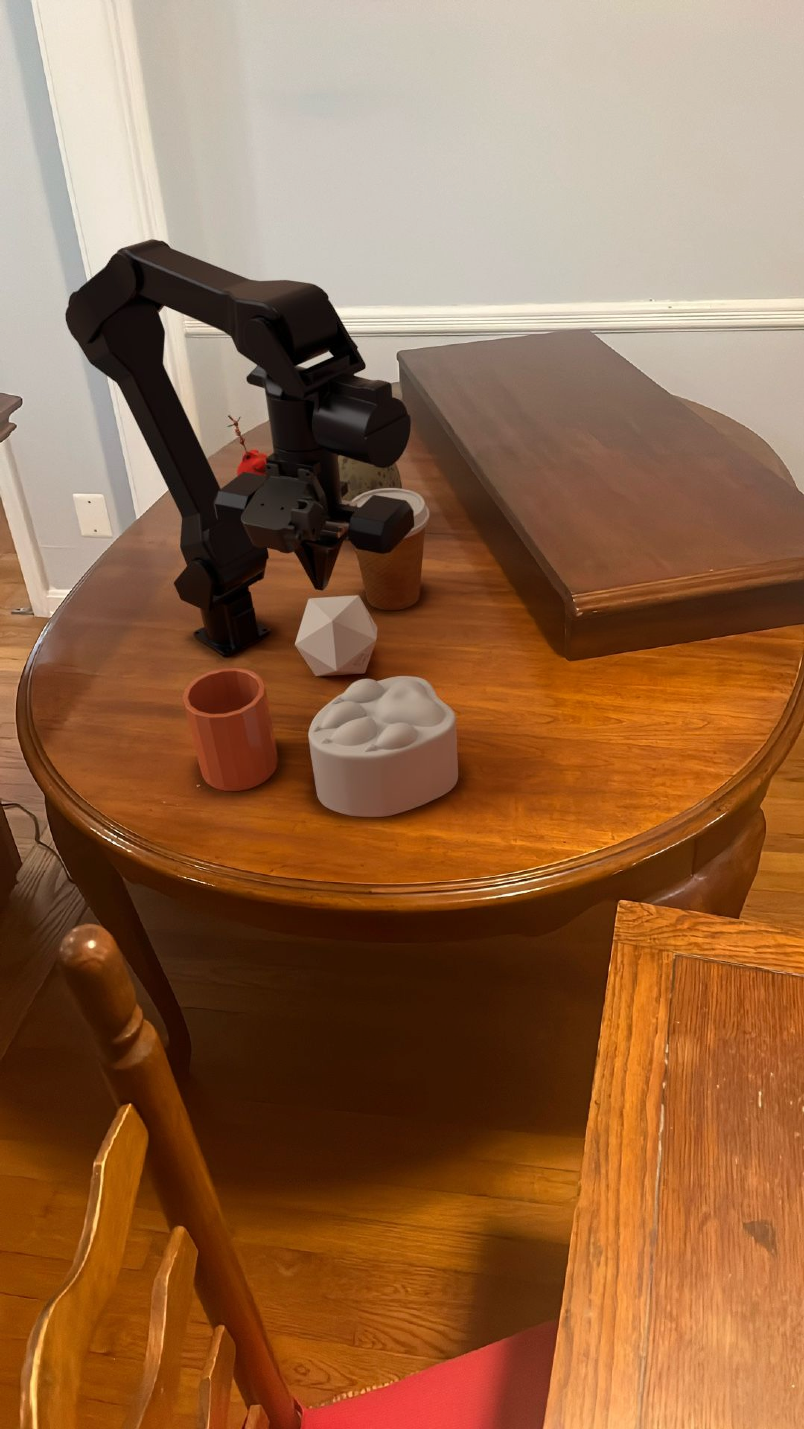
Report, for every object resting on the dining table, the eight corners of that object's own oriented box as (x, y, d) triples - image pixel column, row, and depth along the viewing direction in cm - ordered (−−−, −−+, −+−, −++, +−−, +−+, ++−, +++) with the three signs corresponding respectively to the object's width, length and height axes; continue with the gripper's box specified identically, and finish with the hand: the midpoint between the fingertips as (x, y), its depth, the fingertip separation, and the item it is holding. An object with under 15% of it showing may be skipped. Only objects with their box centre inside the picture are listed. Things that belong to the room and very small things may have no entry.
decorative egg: (307, 543, 130) (292, 434, 121) (355, 509, 137) (345, 403, 128) (373, 563, 125) (363, 450, 116) (420, 527, 132) (414, 417, 123)
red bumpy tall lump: (297, 520, 135) (282, 414, 126) (247, 532, 134) (229, 425, 124) (280, 498, 141) (265, 394, 132) (233, 509, 139) (214, 405, 130)
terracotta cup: (186, 767, 97) (167, 693, 91) (247, 731, 100) (232, 658, 95) (231, 802, 92) (214, 728, 87) (293, 763, 96) (280, 689, 90)
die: (351, 706, 104) (396, 623, 101) (273, 667, 102) (317, 582, 100) (354, 684, 112) (396, 606, 109) (283, 647, 110) (323, 568, 108)
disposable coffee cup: (447, 587, 120) (444, 496, 112) (405, 626, 114) (399, 532, 106) (381, 569, 124) (374, 480, 116) (337, 605, 118) (327, 514, 110)
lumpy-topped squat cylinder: (470, 787, 92) (468, 713, 86) (340, 835, 88) (330, 762, 83) (420, 725, 99) (416, 654, 94) (299, 767, 96) (287, 695, 90)
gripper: (164, 460, 86) (197, 611, 96) (354, 494, 80) (368, 652, 90) (235, 412, 94) (258, 556, 104) (413, 439, 87) (419, 591, 97)
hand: (321, 588), depth 98 cm, fingers closed
